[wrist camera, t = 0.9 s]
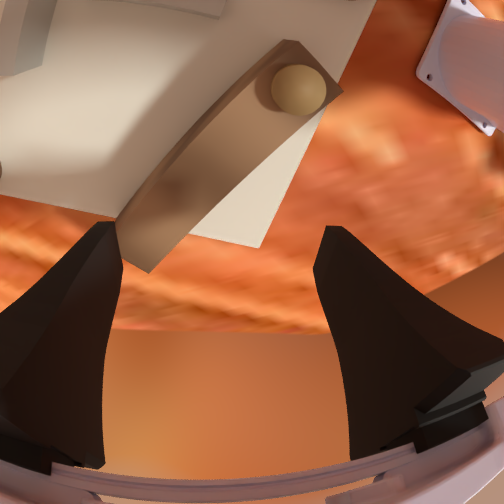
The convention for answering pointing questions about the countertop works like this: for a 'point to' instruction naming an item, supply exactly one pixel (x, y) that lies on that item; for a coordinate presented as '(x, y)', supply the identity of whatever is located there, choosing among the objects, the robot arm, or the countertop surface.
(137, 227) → the hinged leg
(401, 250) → the countertop surface
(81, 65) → the white block puzzle board
